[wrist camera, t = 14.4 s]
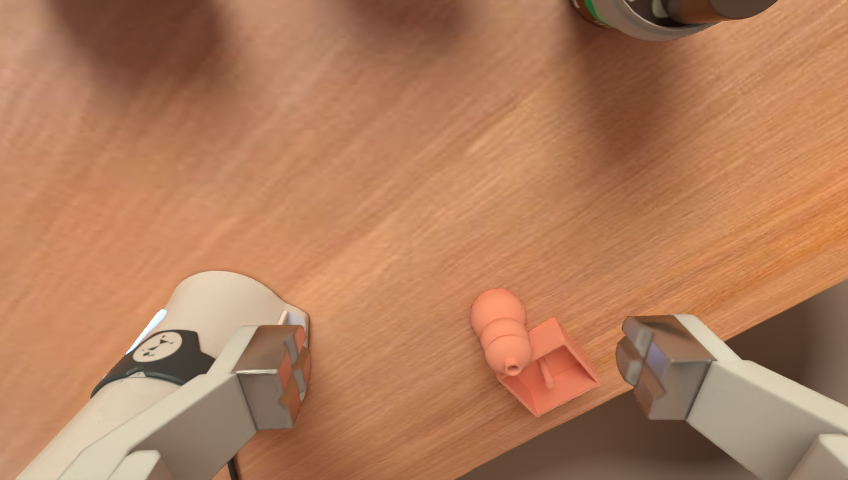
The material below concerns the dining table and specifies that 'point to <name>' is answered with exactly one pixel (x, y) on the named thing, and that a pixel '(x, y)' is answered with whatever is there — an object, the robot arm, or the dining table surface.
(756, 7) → the brown cylinder
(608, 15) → the food container
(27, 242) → the dining table surface
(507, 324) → the pottery
